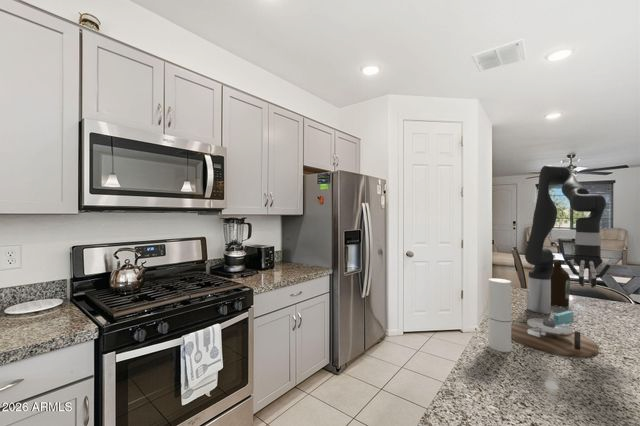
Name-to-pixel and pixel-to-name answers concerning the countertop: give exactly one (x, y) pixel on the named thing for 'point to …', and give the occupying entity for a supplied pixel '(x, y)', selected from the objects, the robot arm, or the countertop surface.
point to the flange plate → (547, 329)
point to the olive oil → (559, 285)
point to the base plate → (555, 342)
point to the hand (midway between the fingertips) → (587, 286)
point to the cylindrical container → (500, 314)
